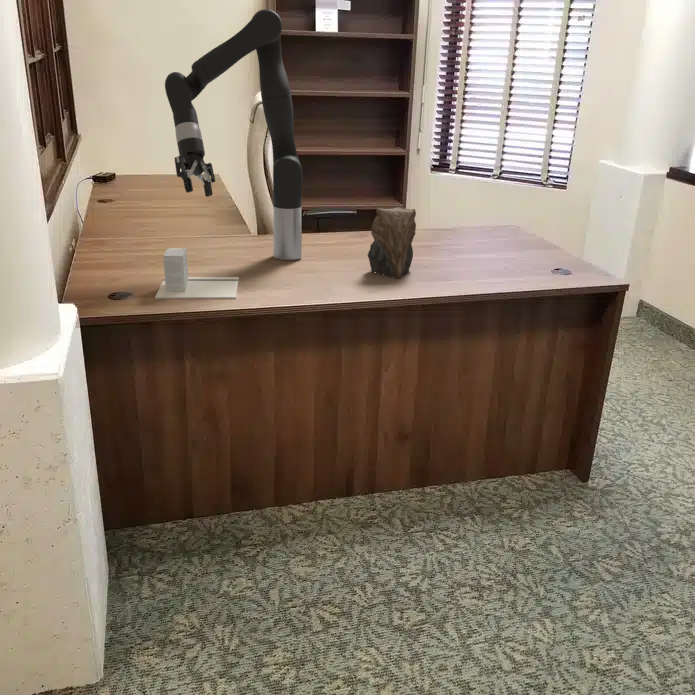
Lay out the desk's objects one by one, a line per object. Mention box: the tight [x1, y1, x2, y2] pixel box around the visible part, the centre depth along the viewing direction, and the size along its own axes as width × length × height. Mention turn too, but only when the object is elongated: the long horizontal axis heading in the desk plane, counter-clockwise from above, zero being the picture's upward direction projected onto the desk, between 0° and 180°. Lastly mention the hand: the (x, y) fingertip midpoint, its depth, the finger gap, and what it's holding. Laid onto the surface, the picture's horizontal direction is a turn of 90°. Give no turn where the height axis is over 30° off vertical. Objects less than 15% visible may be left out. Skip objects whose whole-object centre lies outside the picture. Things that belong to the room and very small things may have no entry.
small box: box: [162, 247, 189, 291], centre depth 195 cm, size 8×6×10 cm
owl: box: [367, 206, 417, 280], centre depth 217 cm, size 13×13×20 cm
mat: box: [154, 276, 240, 300], centre depth 198 cm, size 22×18×1 cm
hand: (199, 194), depth 203 cm, fingers open, 8 cm apart
